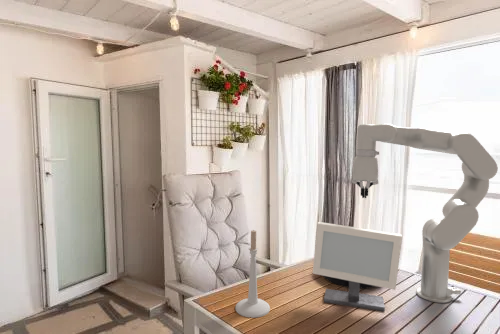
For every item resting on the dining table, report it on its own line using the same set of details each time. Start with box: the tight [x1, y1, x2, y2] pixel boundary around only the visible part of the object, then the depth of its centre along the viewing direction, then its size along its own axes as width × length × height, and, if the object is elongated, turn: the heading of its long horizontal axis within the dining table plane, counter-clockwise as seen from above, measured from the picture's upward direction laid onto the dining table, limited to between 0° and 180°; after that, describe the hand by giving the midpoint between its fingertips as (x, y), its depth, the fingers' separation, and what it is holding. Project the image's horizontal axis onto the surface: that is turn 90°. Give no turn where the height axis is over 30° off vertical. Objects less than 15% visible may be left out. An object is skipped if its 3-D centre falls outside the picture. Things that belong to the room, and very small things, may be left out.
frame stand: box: [323, 281, 386, 312], centre depth 129 cm, size 22×9×23 cm, turn 73°
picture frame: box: [312, 221, 403, 290], centre depth 125 cm, size 30×3×20 cm, turn 73°
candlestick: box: [235, 229, 271, 319], centre depth 122 cm, size 13×13×30 cm
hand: (364, 197), depth 140 cm, fingers closed
